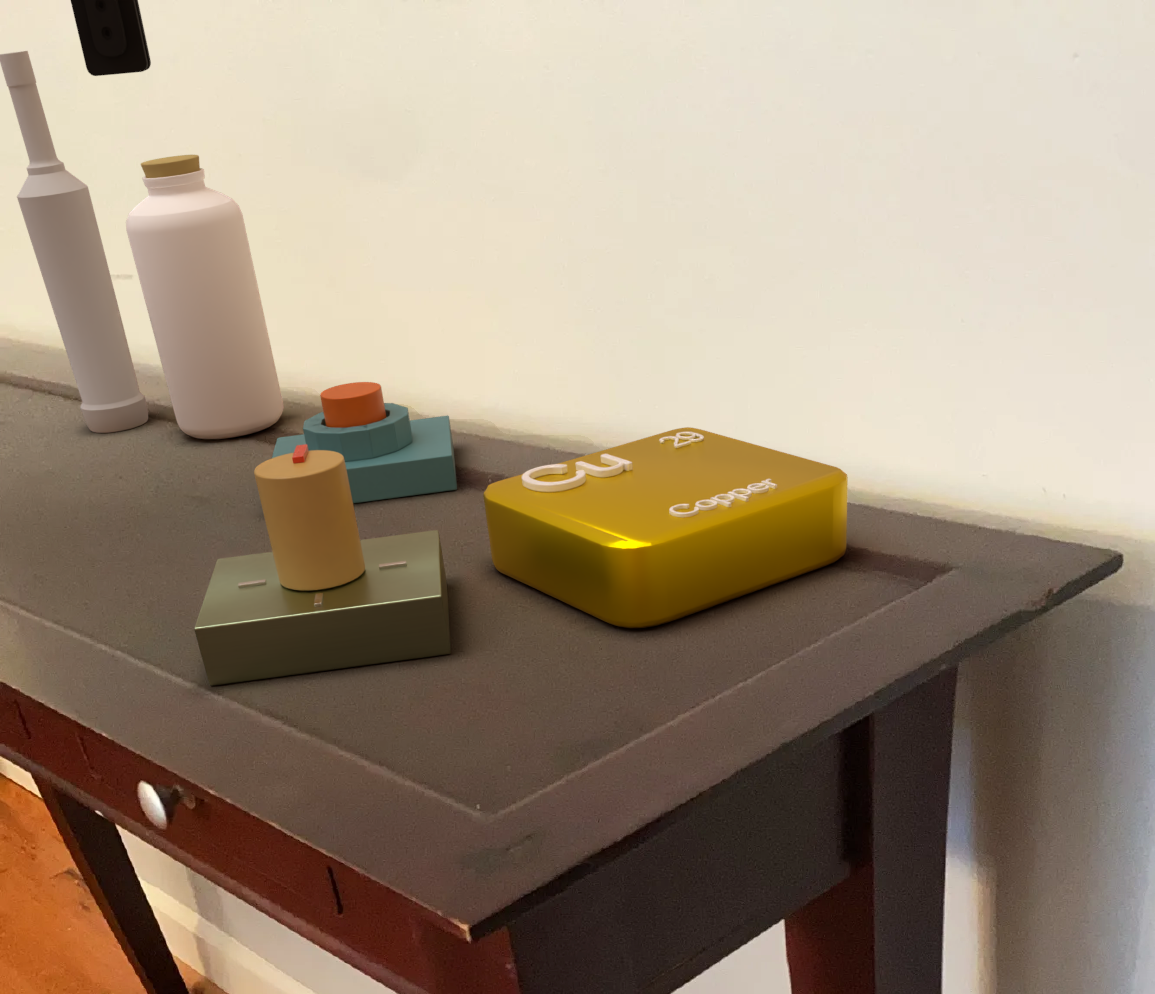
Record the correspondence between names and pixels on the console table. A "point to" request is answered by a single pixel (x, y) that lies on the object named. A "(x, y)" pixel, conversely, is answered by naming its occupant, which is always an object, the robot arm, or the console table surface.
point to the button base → (385, 453)
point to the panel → (325, 614)
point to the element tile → (666, 525)
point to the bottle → (73, 266)
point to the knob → (310, 519)
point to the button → (353, 404)
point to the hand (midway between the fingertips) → (120, 72)
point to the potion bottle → (203, 303)
